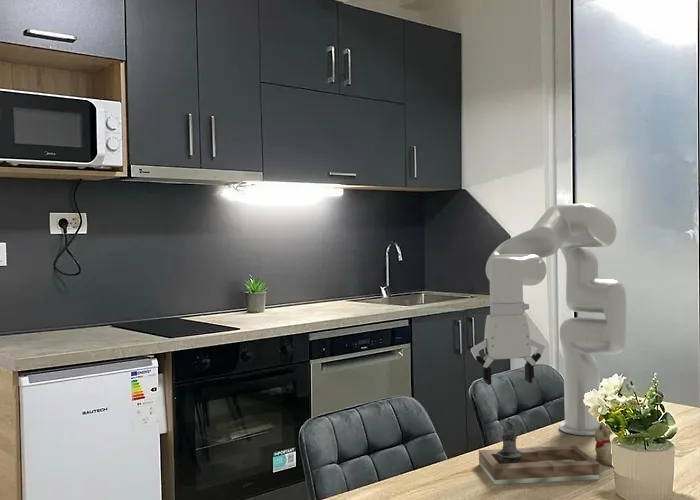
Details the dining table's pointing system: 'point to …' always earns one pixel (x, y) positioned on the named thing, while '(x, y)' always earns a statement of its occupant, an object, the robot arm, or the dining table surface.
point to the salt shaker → (509, 445)
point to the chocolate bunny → (603, 445)
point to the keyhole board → (540, 465)
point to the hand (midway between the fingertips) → (508, 382)
